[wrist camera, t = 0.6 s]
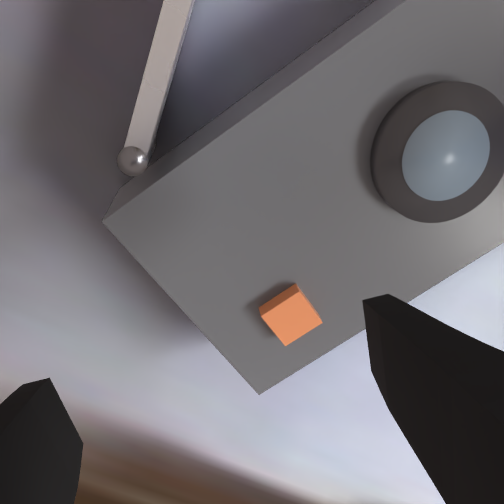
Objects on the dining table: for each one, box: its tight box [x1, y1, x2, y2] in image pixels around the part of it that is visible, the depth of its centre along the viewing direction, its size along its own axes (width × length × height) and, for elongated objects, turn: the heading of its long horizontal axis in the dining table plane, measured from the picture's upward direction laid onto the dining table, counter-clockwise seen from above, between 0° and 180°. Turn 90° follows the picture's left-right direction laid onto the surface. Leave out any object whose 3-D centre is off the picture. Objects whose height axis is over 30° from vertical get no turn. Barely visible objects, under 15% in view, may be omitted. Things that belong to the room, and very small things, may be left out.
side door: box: [117, 0, 195, 176], centre depth 14 cm, size 9×1×4 cm, turn 159°
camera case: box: [102, 0, 504, 395], centre depth 17 cm, size 14×9×5 cm, turn 124°
